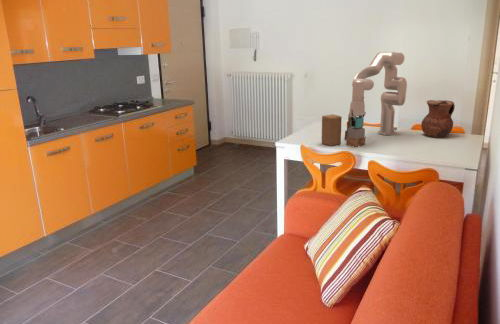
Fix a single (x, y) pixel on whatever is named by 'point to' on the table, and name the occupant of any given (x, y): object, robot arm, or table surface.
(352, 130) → the tower mid
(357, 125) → the teal cube
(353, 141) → the tower base
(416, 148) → the table surface
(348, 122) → the wooden toy
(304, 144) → the table surface
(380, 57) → the robot arm
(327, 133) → the wooden block
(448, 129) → the jug
